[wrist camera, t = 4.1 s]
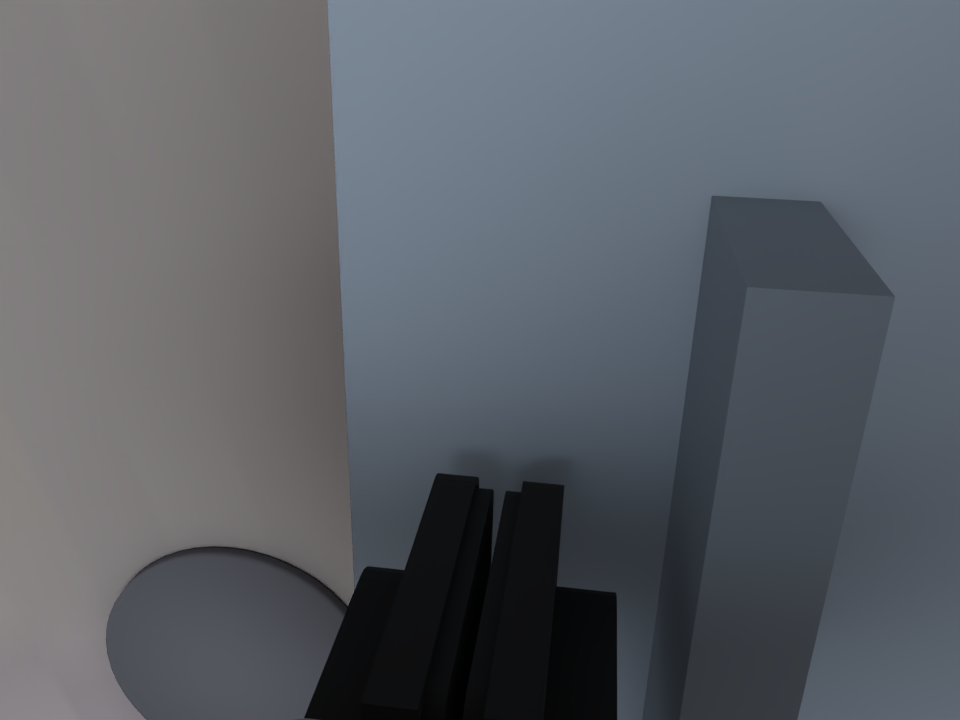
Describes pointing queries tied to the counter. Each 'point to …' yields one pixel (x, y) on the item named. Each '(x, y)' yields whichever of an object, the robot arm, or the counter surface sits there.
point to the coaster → (221, 637)
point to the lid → (673, 323)
